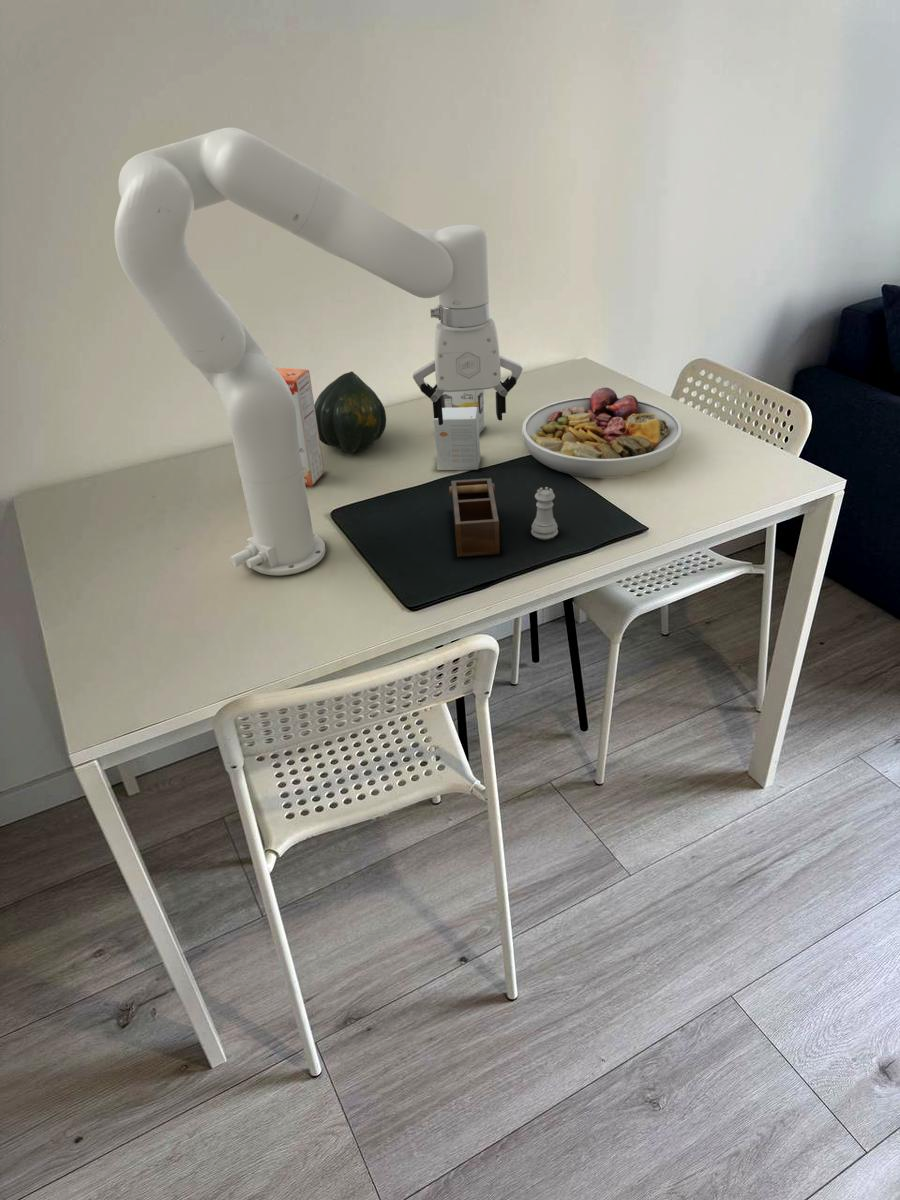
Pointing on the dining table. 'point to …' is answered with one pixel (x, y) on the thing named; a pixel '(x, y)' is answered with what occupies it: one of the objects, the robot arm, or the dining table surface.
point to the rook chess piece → (544, 516)
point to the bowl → (602, 435)
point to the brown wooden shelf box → (475, 517)
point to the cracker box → (305, 423)
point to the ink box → (466, 402)
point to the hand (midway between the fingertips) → (469, 419)
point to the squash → (349, 414)
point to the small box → (457, 439)
